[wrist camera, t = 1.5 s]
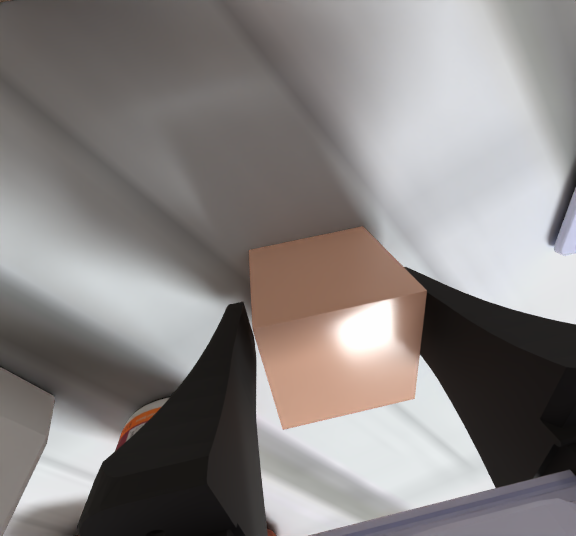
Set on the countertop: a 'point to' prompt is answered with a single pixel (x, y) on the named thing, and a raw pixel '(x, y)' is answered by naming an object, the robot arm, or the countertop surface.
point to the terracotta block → (335, 325)
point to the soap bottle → (20, 437)
